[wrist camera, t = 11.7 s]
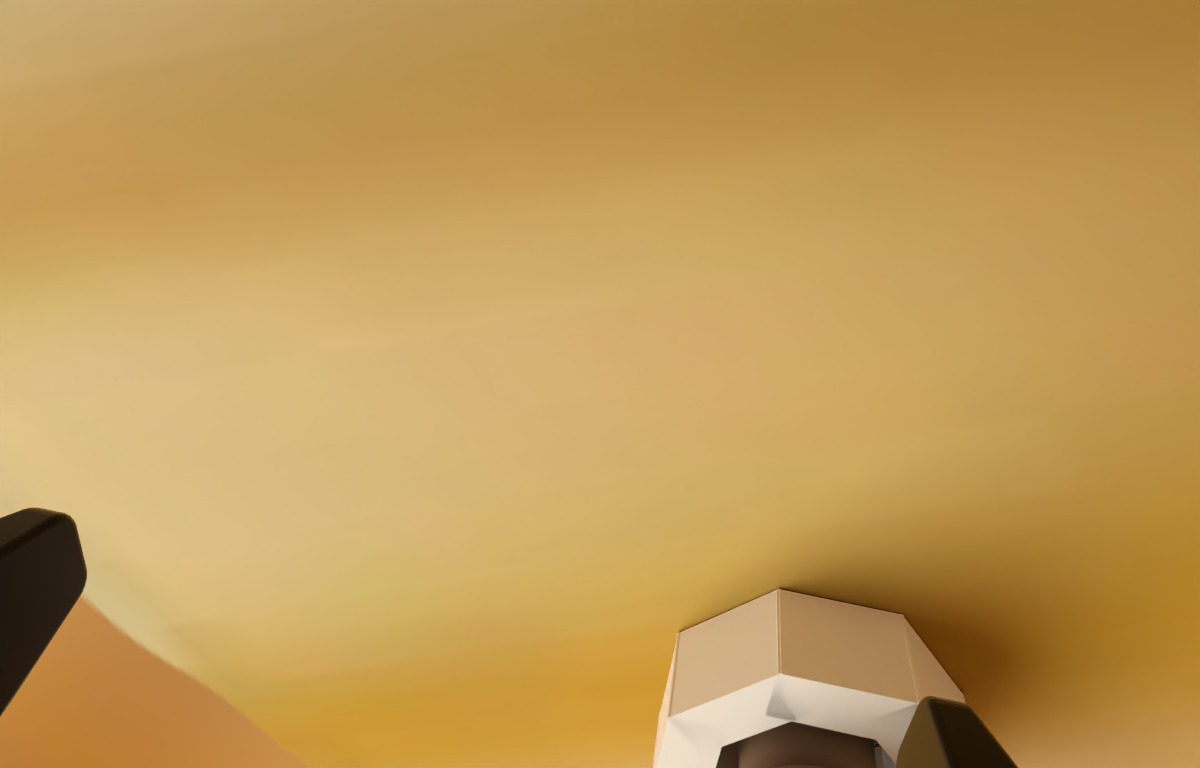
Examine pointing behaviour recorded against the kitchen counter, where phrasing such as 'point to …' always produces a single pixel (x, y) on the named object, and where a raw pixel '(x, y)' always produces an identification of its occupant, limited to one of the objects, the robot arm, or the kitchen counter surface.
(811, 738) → the walnut peg
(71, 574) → the robot arm
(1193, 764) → the kitchen counter surface
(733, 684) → the socket collar
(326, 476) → the kitchen counter surface
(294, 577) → the kitchen counter surface
